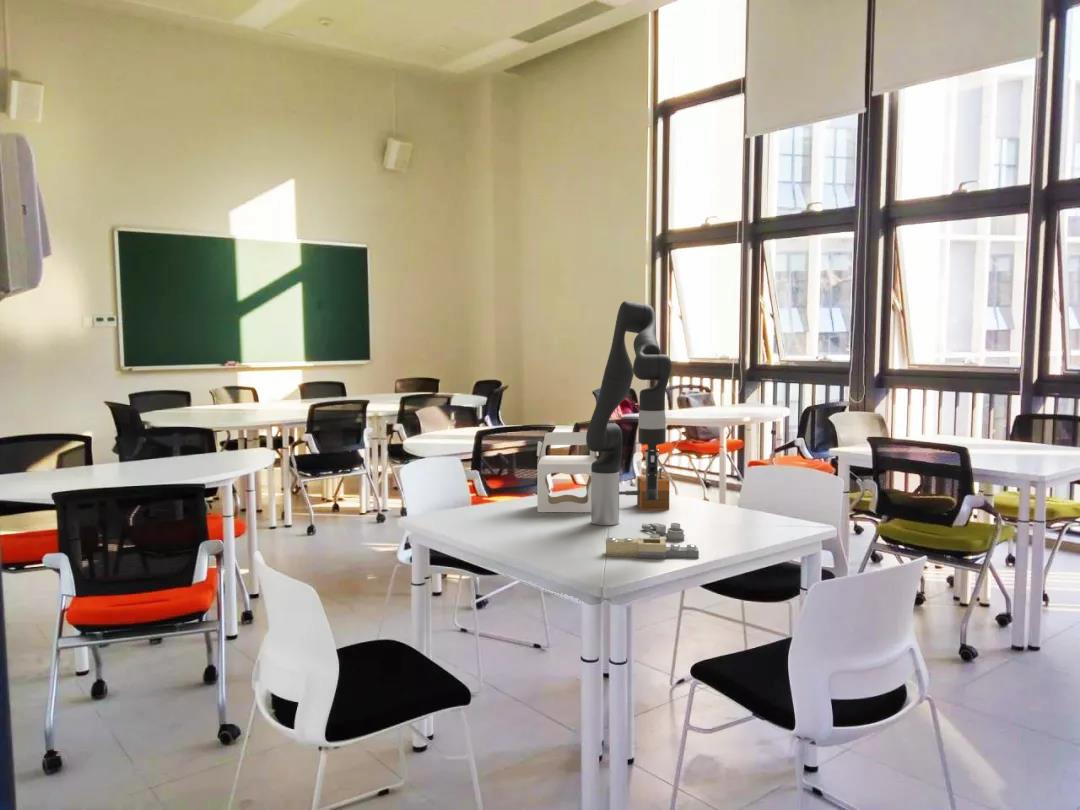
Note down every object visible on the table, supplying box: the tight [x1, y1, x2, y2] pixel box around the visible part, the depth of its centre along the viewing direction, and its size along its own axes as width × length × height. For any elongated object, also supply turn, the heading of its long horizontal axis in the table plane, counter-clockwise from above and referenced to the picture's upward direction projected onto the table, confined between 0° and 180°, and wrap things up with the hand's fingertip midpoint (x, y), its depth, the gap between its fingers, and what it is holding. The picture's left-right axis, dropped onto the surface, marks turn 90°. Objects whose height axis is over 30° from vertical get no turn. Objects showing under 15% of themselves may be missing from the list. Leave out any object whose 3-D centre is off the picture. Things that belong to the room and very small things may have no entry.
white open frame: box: [536, 431, 599, 513], centre depth 291 cm, size 22×13×28 cm, turn 89°
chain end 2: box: [637, 543, 700, 560], centre depth 226 cm, size 8×17×3 cm, turn 84°
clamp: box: [619, 468, 670, 511], centre depth 295 cm, size 11×20×14 cm, turn 92°
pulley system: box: [641, 522, 686, 543], centre depth 246 cm, size 27×5×15 cm
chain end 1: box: [605, 537, 667, 558], centre depth 227 cm, size 8×17×4 cm, turn 84°
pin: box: [645, 466, 659, 500], centre depth 225 cm, size 4×4×13 cm
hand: (651, 487), depth 225 cm, fingers closed on pin, 3 cm apart
